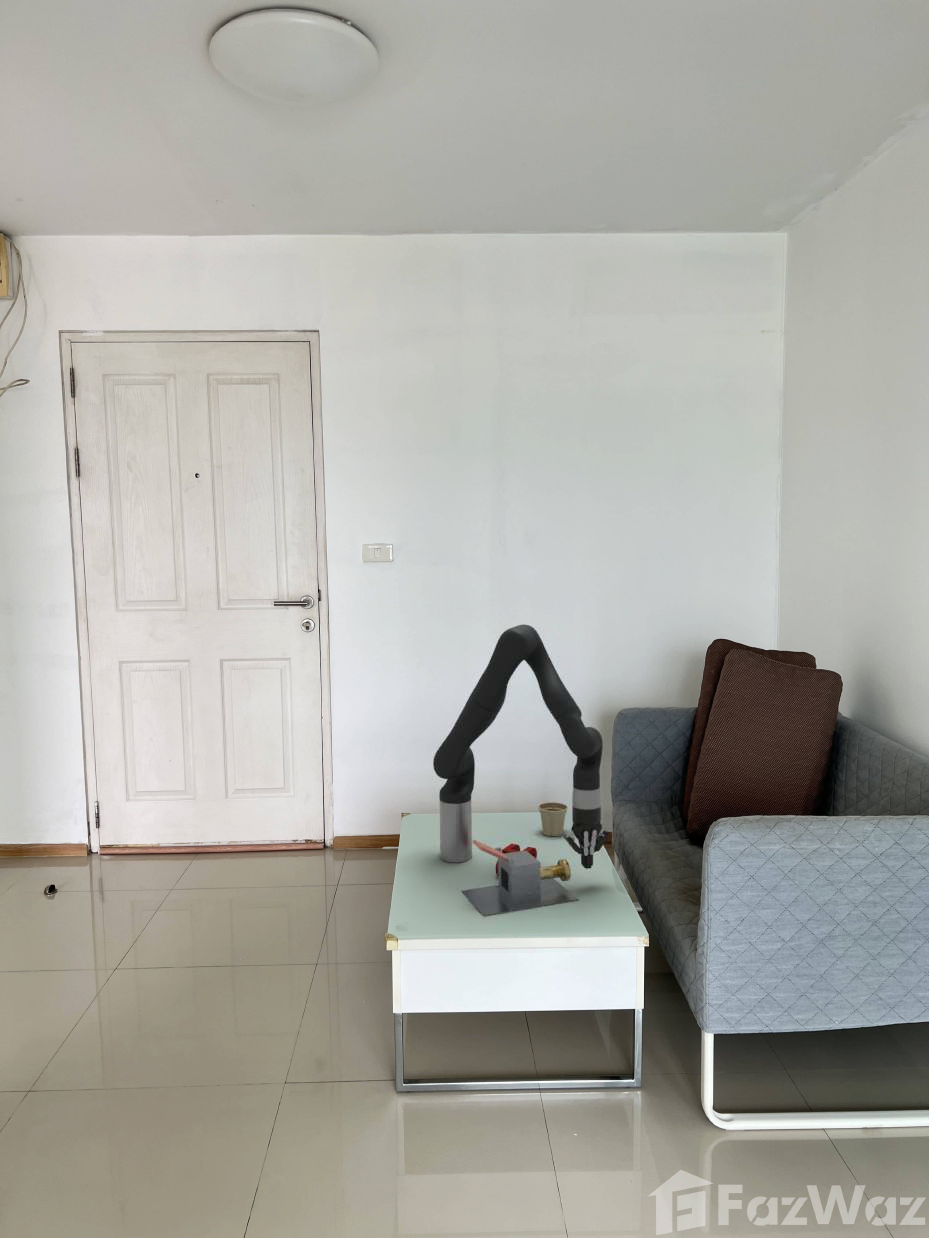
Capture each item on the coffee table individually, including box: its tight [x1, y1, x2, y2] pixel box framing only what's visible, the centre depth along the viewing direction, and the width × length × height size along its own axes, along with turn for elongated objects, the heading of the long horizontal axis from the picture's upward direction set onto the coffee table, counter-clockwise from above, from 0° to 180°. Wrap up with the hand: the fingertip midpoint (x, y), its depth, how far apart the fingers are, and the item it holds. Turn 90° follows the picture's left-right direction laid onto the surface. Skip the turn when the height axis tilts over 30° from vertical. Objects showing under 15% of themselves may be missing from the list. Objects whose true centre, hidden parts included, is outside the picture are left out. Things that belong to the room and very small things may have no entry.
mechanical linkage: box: [495, 843, 538, 876], centre depth 243 cm, size 16×7×5 cm, turn 149°
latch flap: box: [472, 839, 509, 862], centre depth 220 cm, size 7×9×1 cm
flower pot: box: [537, 801, 569, 837], centre depth 271 cm, size 9×9×9 cm
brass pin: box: [541, 858, 572, 882], centre depth 226 cm, size 6×14×6 cm, turn 110°
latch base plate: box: [461, 847, 580, 917], centre depth 224 cm, size 16×26×12 cm, turn 110°
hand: (587, 867), depth 230 cm, fingers closed
